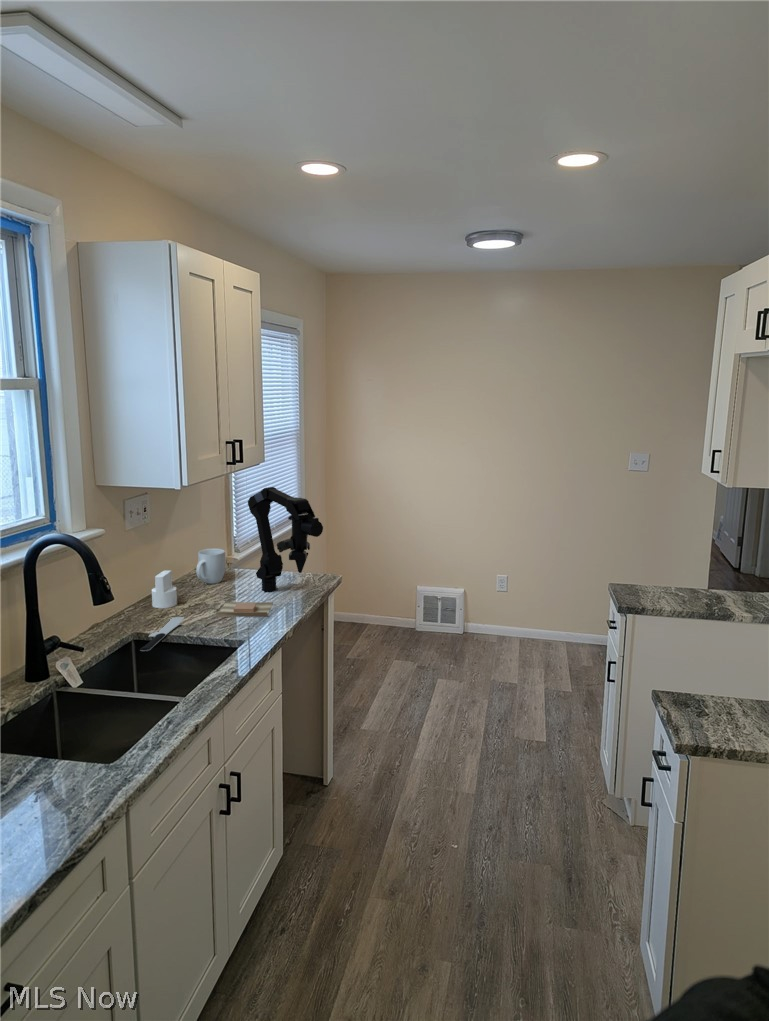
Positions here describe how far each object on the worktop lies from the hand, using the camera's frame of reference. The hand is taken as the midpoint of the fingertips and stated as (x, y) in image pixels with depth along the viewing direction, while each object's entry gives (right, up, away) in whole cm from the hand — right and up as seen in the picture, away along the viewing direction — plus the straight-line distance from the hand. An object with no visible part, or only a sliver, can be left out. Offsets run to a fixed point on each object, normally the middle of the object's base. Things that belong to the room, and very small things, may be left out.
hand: (300, 572), depth 259 cm
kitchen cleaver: (-43, -18, -31) cm, 56 cm away
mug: (-41, -7, +28) cm, 50 cm away
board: (-19, -14, -8) cm, 25 cm away
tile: (-19, -11, -6) cm, 23 cm away
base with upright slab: (-51, -12, -1) cm, 53 cm away
